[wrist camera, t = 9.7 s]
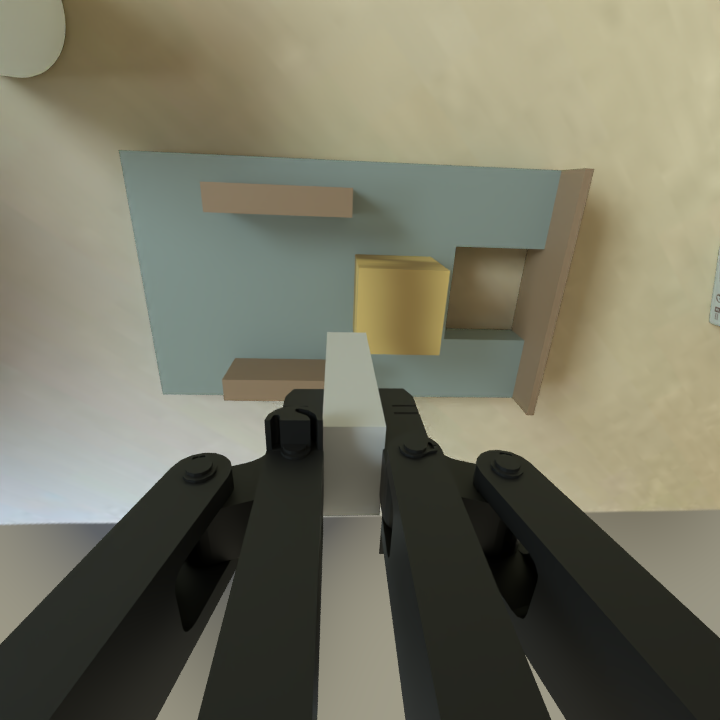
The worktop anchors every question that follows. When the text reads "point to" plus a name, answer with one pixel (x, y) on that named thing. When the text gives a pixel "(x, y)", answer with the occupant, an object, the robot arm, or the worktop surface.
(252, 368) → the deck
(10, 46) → the cup
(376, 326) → the ochre block
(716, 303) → the supplement box
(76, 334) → the worktop surface
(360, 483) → the robot arm
